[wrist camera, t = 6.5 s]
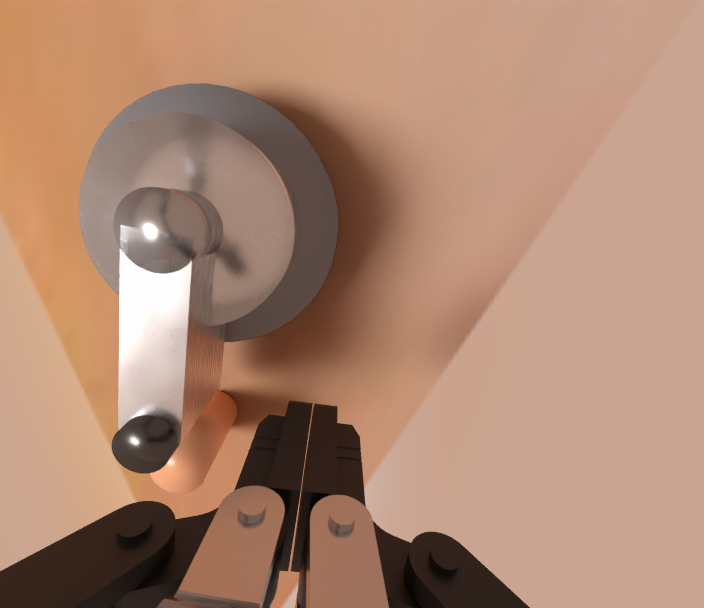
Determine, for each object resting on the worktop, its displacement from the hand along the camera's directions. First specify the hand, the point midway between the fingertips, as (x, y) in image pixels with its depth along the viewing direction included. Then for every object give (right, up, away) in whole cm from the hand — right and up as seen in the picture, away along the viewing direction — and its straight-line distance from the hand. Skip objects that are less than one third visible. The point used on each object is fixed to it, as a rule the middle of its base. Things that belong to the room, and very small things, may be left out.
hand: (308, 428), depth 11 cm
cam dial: (-5, +5, +3) cm, 8 cm away
